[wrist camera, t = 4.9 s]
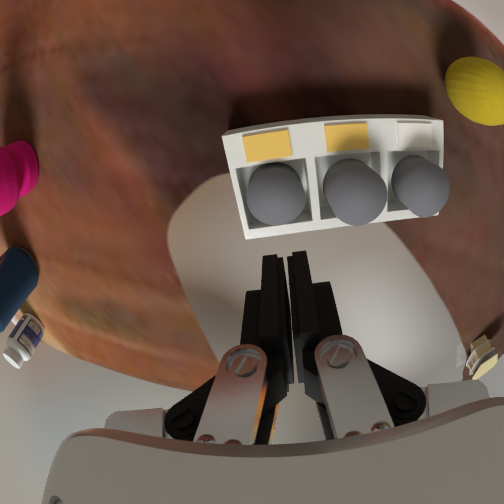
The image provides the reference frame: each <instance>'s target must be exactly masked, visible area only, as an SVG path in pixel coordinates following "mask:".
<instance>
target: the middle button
mask: <svg viewBox="0 0 504 504" xmlns="http://www.w3.org/2000/svg"><path fill="white" fill-rule="evenodd" d="M323 192H324V195H325V197H326V199H327V201H328V203H329V205H330V207H331V209H332V210H333V212H334V214H335V215H336V217H337V218H338V219H339V220H341V221H342V222H344V223H346V224H349V225H356V226H357V225H364V224H367V223H369V222H371V221H373V220H374V219H376V218H377V217H378V216H379V215H380V214H381V213H382V211H383V209H384V207H385V205H386V202H387V196H388V194H387V187H386V184H385V182H384V180H383V179H382V177H381V176H380V175H379V174H377V173H376V172H375V171H374V170H373V169H371V168H370V167H369V166H368V165H366V164H365V163H364V162H362V161H360V160H358V159H353V158H347V159H342V160H339V161H337V162H336V163H334V164H333V165H332V166H331V167H330V168H329V169H328V170H327V172H326V174H325V176H324V179H323Z"/></svg>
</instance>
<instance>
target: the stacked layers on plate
mask: <svg viewBox="0 0 504 504" xmlns="http://www.w3.org/2000/svg"><path fill="white" fill-rule="evenodd" d="M470 352H471V355H470V357H469V359H468V361H467V363H466V367H469V369H470V375H473V374H474V377H473V378H472V380H475V379H478V378H479V377H481V376H482V375H483V374H485V373H486V372H487V371H489V370H490V369H491V368H492V367H494V366H495V364H496V363H497V356H498V354H496V355H495V348H492V347H491V343H490V339H489V340H488V339H487V337H486V335H483V336H482V337H480V338H479V339H477V340H475V341H474V342H472V343H471V350H470ZM466 360H467V356H466V352H465V349H464V347H463V344H462V343H461V344H459V345H457V360H456V367H458V366H460V365H461V364H463V363H465V362H466Z"/></svg>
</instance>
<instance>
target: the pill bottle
mask: <svg viewBox="0 0 504 504" xmlns="http://www.w3.org/2000/svg"><path fill="white" fill-rule="evenodd" d="M44 333H45V329H44V327H43V325H42V324H41V322H40V321H39V320H38V319H37V318H36V317H35V316H33V315H32V314H30V313H25V314H24V315H23V316H22V318H21V319H20V321H19V322H18V323H17V325H16V326H15V328H14V329H13V331H12V333H11V334H10V336H9V337H8V339H7V345H8V348H6V349H5V351H4V353H3V355H4V357H5V358H6V359H7V360H8V362H10V363H11V364H12V365H13V366H14V367H16V368H18V369H20V367H21V365H22V363H23V362H22V361H23V360H24V361H28V360H29V359H30V357H31V355H32V354H33V352H34V350H35V348H36V346H37V345H38V343H39V341H40V340H41V338H42V336H43V335H44Z"/></svg>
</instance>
